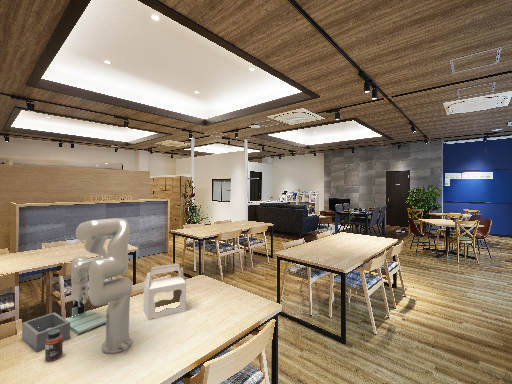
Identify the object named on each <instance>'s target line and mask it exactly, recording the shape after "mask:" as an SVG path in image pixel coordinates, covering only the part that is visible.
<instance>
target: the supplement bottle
mask: <svg viewBox="0 0 512 384" xmlns="http://www.w3.org/2000/svg"><path fill="white" fill-rule="evenodd" d="M63 343H64V341H63V336H62V334H60V330H59V329H55V330H52V331H50V332H49V333H48V337H47V338H46V340H45V349H44V354H45V356H44V359H45V361H47V362H52V361H56V360H58V359H59V358H61V357H62V356H63V353H64V352H63V351H64V350H63V349H64V348H63V346H64V345H63Z"/></svg>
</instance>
